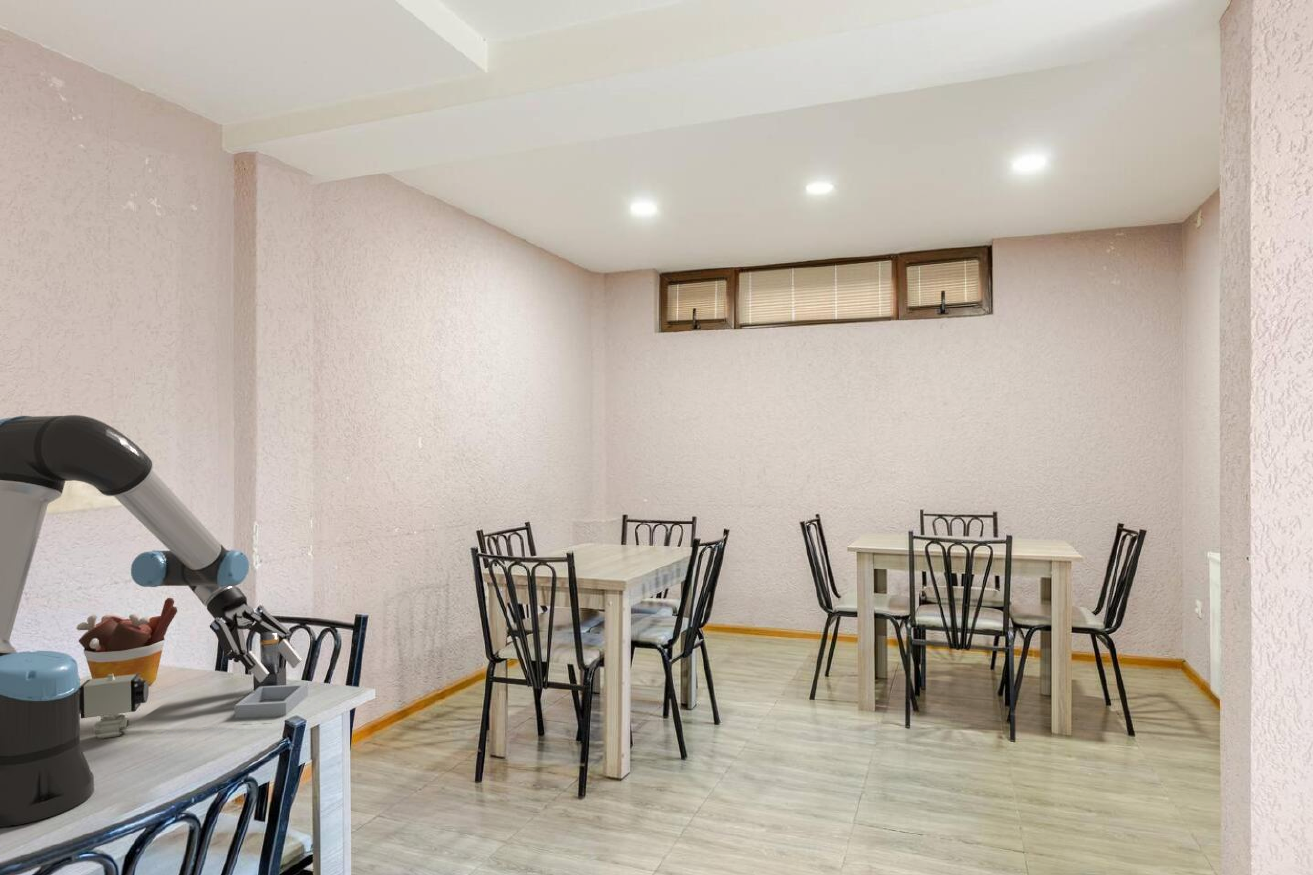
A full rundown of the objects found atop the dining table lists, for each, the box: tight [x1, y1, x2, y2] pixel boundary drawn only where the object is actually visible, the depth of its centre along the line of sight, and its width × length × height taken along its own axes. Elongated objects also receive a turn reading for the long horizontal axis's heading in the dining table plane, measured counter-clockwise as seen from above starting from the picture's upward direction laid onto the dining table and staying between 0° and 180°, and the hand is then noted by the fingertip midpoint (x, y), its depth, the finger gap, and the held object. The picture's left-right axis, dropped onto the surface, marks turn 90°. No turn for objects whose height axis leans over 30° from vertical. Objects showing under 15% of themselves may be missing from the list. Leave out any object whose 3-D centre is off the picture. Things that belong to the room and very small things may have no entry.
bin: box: [234, 683, 309, 726], centre depth 161 cm, size 12×10×4 cm
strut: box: [252, 631, 287, 691], centre depth 170 cm, size 5×5×13 cm
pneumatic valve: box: [80, 674, 150, 740], centre depth 151 cm, size 6×12×12 cm, turn 112°
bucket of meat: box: [76, 597, 178, 686], centre depth 181 cm, size 20×16×20 cm
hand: (281, 670), depth 169 cm, fingers open, 9 cm apart
